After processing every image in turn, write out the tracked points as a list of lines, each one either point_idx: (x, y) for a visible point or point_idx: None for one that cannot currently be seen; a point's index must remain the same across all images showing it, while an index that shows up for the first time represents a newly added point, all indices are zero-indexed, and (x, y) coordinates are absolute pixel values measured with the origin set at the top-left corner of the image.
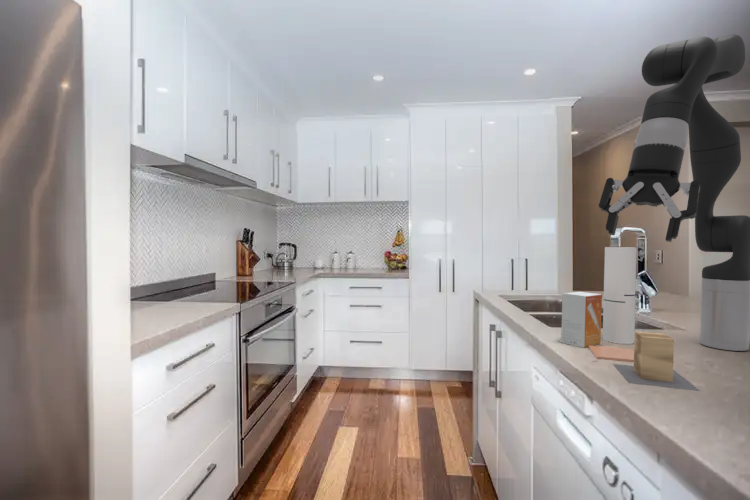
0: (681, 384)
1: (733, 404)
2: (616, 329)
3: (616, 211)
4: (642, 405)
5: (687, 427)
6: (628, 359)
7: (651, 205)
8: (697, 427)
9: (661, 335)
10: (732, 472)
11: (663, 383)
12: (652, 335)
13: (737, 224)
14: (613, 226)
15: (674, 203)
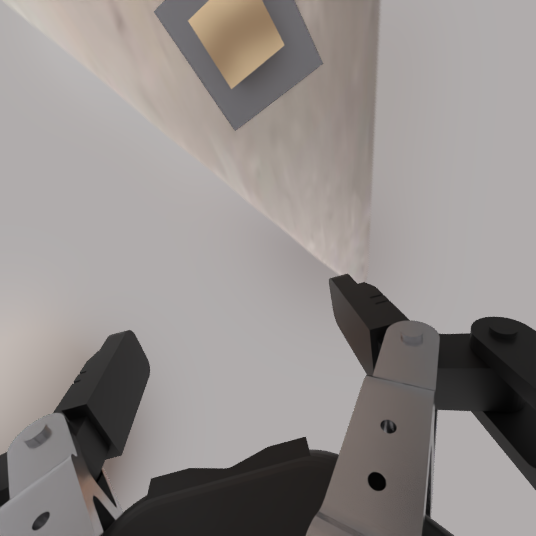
0: (292, 49)
1: (364, 91)
2: None
3: (101, 466)
4: (280, 205)
5: (327, 227)
6: None
7: (271, 461)
8: (335, 220)
9: (250, 11)
10: (361, 280)
11: (270, 76)
12: (236, 37)
13: None
14: (141, 392)
15: (432, 479)
